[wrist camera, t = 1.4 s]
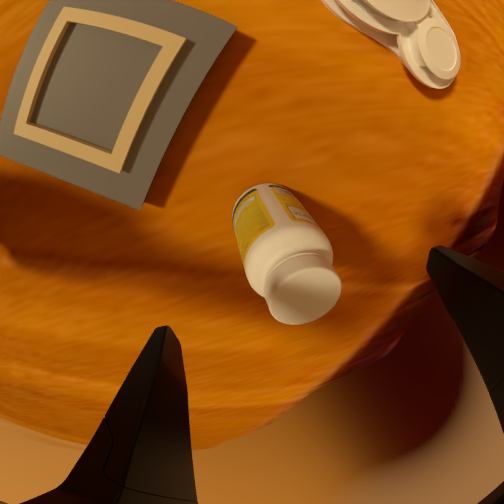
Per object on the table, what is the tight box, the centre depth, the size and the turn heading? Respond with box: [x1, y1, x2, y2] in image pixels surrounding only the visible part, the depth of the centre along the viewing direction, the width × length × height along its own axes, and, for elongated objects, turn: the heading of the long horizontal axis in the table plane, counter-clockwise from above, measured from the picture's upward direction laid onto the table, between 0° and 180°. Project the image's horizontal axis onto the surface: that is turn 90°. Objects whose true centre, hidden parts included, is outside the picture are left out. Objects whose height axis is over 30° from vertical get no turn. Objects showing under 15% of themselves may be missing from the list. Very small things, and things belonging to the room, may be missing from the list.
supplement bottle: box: [232, 183, 342, 325], centre depth 18 cm, size 5×5×10 cm
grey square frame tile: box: [0, 0, 237, 210], centre depth 13 cm, size 14×14×2 cm
